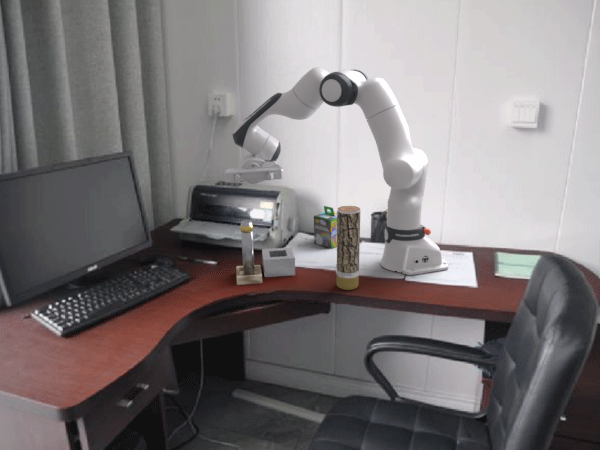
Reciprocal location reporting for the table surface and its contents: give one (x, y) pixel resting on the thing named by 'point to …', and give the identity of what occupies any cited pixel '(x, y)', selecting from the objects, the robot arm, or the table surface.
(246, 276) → the birch rack
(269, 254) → the socket block
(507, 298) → the table surface
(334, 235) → the chalk box
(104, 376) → the table surface
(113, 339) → the table surface
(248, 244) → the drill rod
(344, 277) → the paper tube
